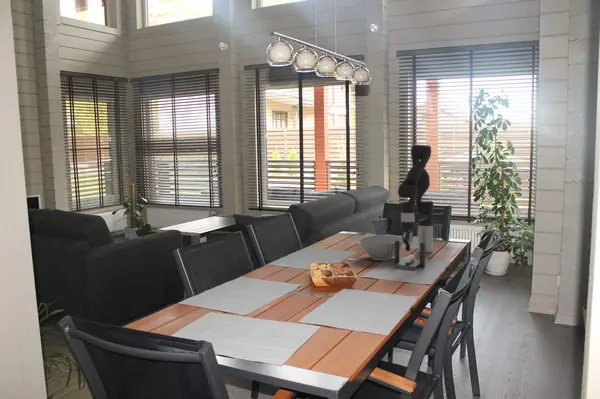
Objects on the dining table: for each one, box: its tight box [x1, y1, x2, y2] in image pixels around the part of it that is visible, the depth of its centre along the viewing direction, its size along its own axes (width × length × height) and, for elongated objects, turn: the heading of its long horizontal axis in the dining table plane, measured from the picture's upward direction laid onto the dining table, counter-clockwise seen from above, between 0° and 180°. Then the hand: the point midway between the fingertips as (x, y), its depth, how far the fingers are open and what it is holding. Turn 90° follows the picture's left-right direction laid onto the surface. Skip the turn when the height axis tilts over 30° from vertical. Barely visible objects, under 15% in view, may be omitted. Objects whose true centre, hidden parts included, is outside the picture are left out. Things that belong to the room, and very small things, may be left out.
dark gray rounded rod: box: [394, 241, 400, 265], centre depth 298 cm, size 3×3×14 cm
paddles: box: [403, 254, 416, 263], centre depth 294 cm, size 10×3×2 cm, turn 149°
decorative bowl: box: [359, 234, 404, 261], centre depth 315 cm, size 27×27×12 cm
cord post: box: [419, 243, 426, 269], centre depth 290 cm, size 3×3×14 cm
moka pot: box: [371, 215, 393, 235], centre depth 359 cm, size 10×15×20 cm, turn 115°
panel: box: [394, 258, 420, 271], centre depth 294 cm, size 16×12×3 cm
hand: (407, 250), depth 291 cm, fingers closed
